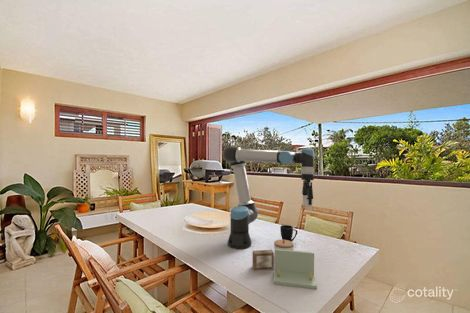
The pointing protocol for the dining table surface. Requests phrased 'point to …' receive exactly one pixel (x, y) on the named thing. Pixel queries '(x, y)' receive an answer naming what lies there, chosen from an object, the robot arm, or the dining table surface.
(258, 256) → the brown tapered block
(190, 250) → the dining table surface
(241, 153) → the robot arm
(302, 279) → the ledge
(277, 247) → the lidded jar
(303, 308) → the dining table surface
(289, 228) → the mug
